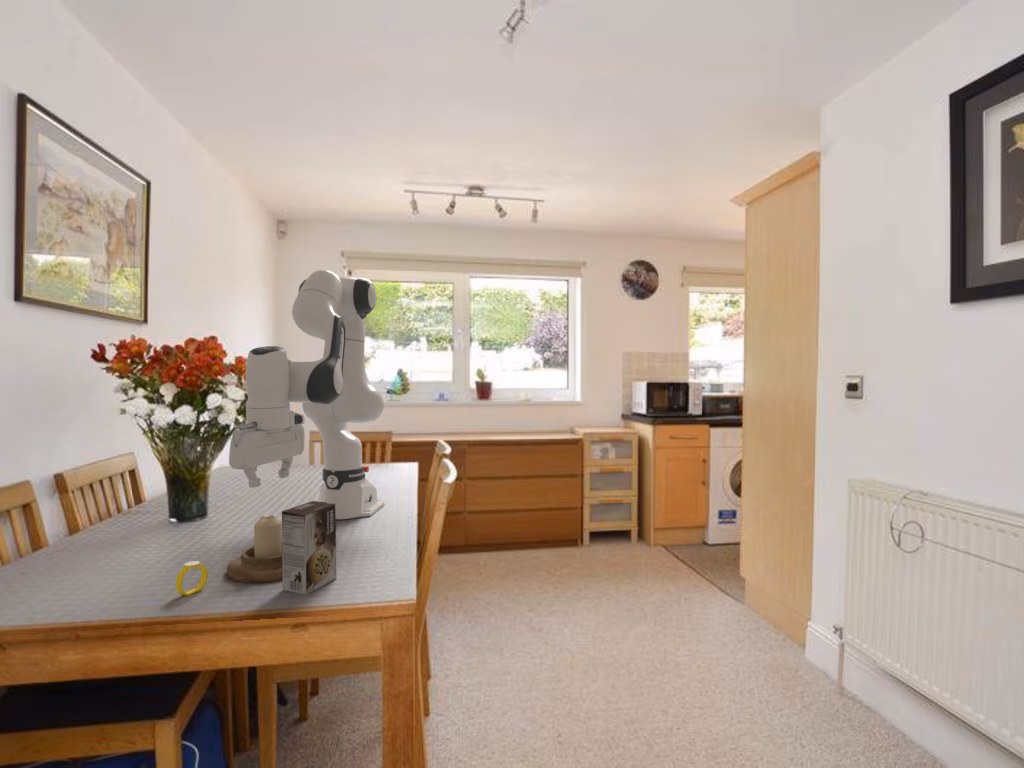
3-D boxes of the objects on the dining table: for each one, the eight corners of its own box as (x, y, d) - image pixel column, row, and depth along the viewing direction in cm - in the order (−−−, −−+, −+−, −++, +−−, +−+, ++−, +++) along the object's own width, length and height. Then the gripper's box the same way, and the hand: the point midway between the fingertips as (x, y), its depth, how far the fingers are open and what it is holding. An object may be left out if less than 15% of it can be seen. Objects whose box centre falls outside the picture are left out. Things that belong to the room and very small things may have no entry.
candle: (249, 565, 116) (248, 519, 116) (265, 556, 122) (264, 513, 122) (271, 567, 115) (271, 521, 115) (287, 558, 121) (286, 514, 121)
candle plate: (264, 552, 129) (263, 535, 129) (326, 558, 125) (325, 541, 125) (207, 578, 113) (207, 559, 113) (277, 587, 109) (276, 567, 109)
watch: (199, 587, 109) (201, 558, 109) (209, 589, 108) (211, 559, 108) (172, 597, 103) (173, 565, 104) (182, 599, 103) (184, 567, 103)
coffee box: (313, 574, 115) (312, 500, 115) (337, 578, 113) (337, 503, 113) (280, 590, 107) (280, 510, 107) (306, 595, 105) (305, 513, 104)
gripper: (246, 425, 107) (247, 494, 108) (309, 415, 127) (310, 473, 128) (220, 424, 109) (221, 492, 109) (286, 415, 129) (287, 472, 129)
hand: (269, 481), depth 119 cm, fingers open, 8 cm apart
